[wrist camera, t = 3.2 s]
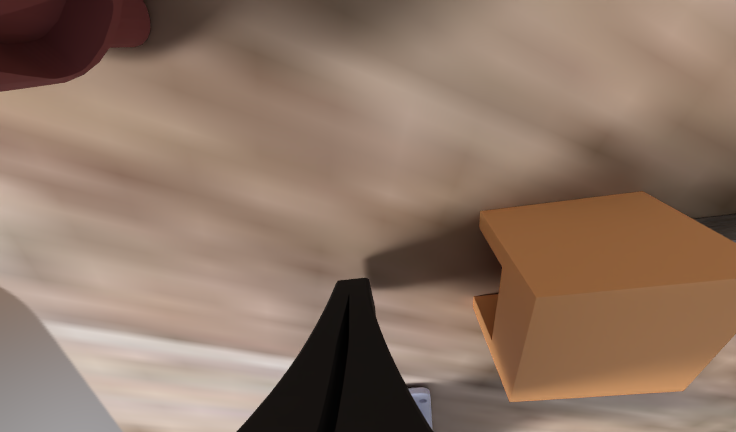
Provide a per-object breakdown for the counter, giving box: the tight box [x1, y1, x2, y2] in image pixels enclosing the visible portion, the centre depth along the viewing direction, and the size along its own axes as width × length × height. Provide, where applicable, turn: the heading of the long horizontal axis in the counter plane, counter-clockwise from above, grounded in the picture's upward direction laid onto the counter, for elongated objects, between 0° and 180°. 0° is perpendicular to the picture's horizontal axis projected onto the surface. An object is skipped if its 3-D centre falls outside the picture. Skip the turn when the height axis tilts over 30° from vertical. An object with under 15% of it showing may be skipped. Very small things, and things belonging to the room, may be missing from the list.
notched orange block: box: [473, 191, 736, 402], centre depth 10 cm, size 6×6×4 cm
